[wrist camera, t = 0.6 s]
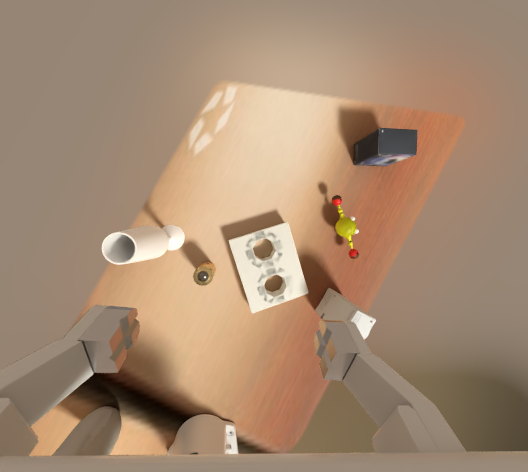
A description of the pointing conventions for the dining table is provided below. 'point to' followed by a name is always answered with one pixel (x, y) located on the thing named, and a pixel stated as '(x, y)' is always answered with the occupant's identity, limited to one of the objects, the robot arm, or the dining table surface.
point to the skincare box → (344, 311)
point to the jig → (269, 267)
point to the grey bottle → (93, 434)
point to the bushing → (204, 273)
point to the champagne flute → (141, 243)
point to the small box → (385, 147)
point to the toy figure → (345, 227)
